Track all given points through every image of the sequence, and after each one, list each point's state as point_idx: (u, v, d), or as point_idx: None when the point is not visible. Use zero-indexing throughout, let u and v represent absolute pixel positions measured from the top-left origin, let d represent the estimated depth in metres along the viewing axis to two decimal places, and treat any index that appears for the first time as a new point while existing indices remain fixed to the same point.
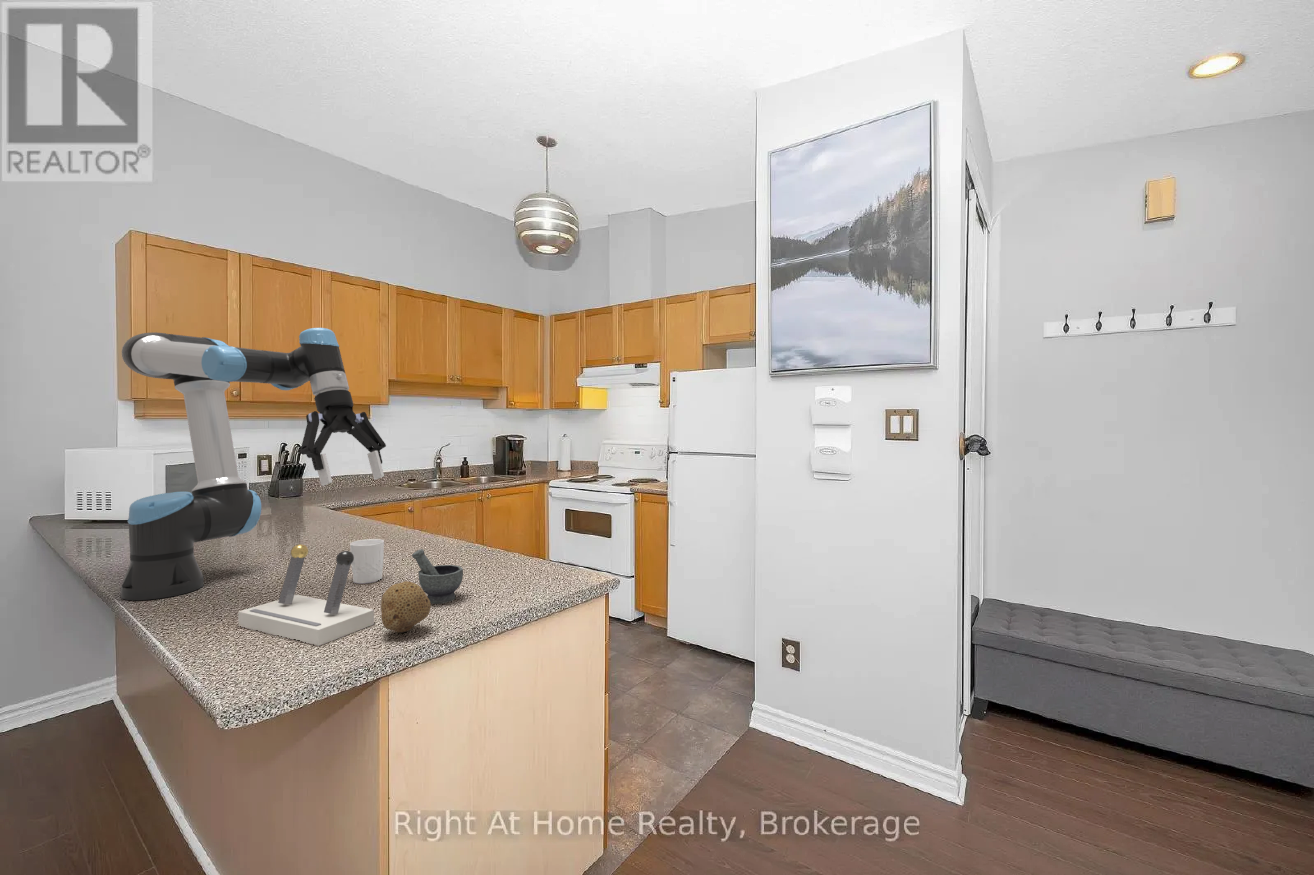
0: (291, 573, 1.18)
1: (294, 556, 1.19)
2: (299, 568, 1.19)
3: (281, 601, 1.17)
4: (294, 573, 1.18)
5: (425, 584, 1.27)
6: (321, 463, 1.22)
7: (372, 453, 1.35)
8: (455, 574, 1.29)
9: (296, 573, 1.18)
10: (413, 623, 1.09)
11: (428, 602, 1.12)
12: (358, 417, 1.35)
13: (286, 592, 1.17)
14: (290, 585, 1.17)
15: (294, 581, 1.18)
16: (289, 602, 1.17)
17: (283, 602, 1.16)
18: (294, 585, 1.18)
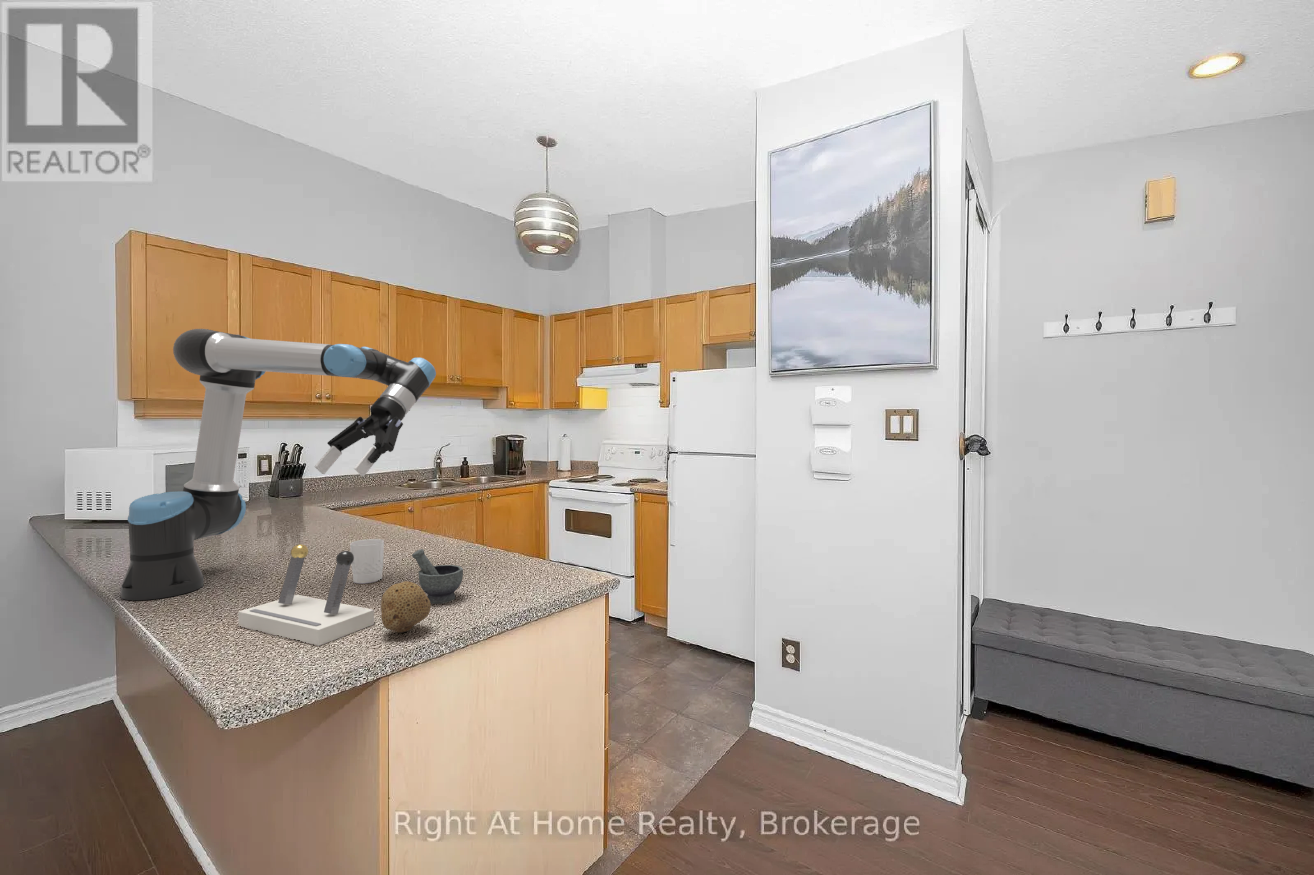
0: (291, 573, 1.18)
1: (294, 556, 1.19)
2: (299, 568, 1.19)
3: (281, 601, 1.17)
4: (294, 573, 1.18)
5: (425, 584, 1.27)
6: None
7: (337, 451, 1.35)
8: (455, 574, 1.29)
9: (296, 573, 1.18)
10: (413, 623, 1.09)
11: (428, 602, 1.12)
12: None
13: (286, 592, 1.17)
14: (290, 585, 1.17)
15: (294, 581, 1.18)
16: (289, 602, 1.17)
17: (283, 602, 1.16)
18: (294, 585, 1.18)
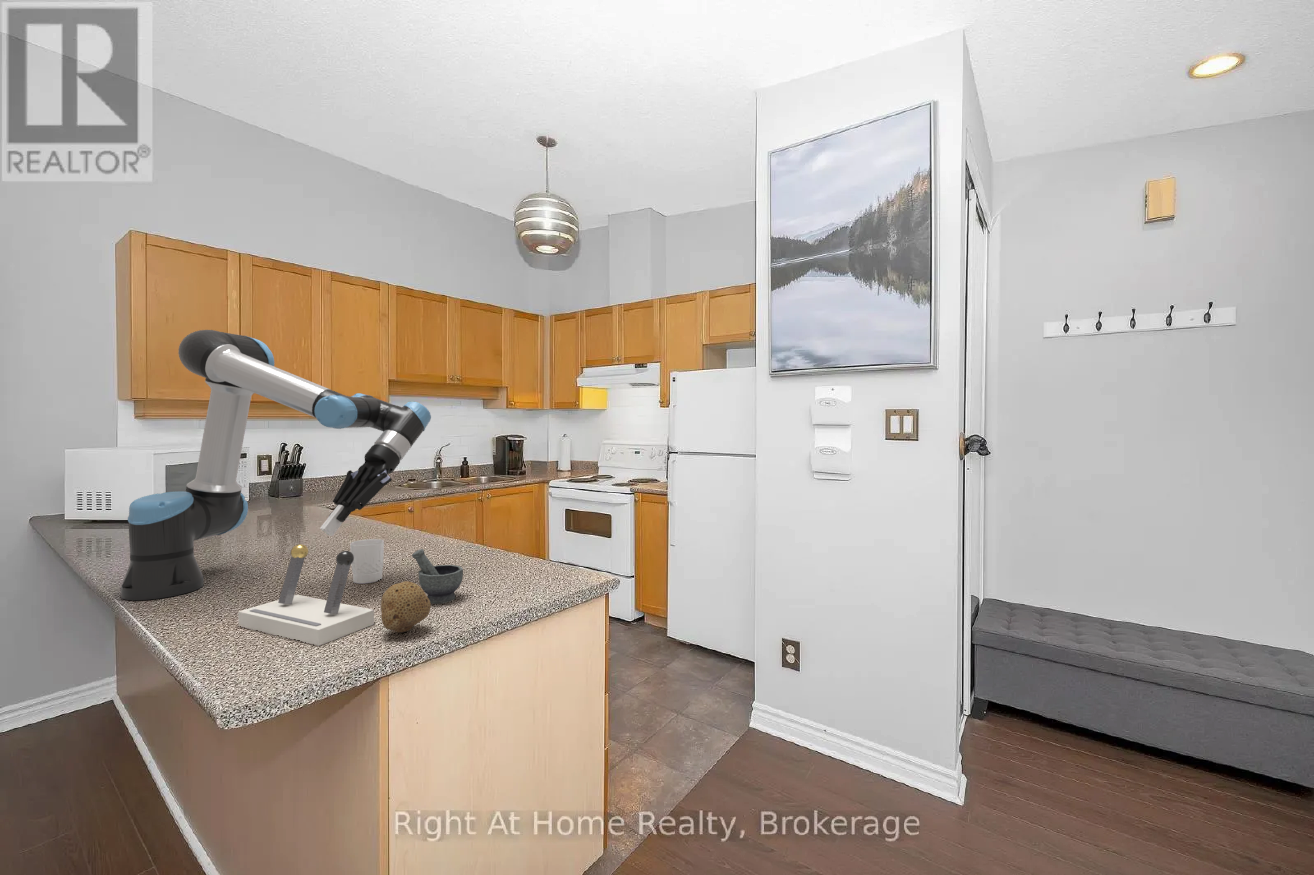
0: (291, 573, 1.18)
1: (294, 556, 1.19)
2: (299, 568, 1.19)
3: (281, 601, 1.17)
4: (294, 573, 1.18)
5: (425, 584, 1.27)
6: None
7: None
8: (455, 574, 1.29)
9: (296, 573, 1.18)
10: (413, 623, 1.09)
11: (428, 602, 1.12)
12: None
13: (286, 592, 1.17)
14: (290, 585, 1.17)
15: (294, 581, 1.18)
16: (289, 602, 1.17)
17: (283, 602, 1.16)
18: (294, 585, 1.18)
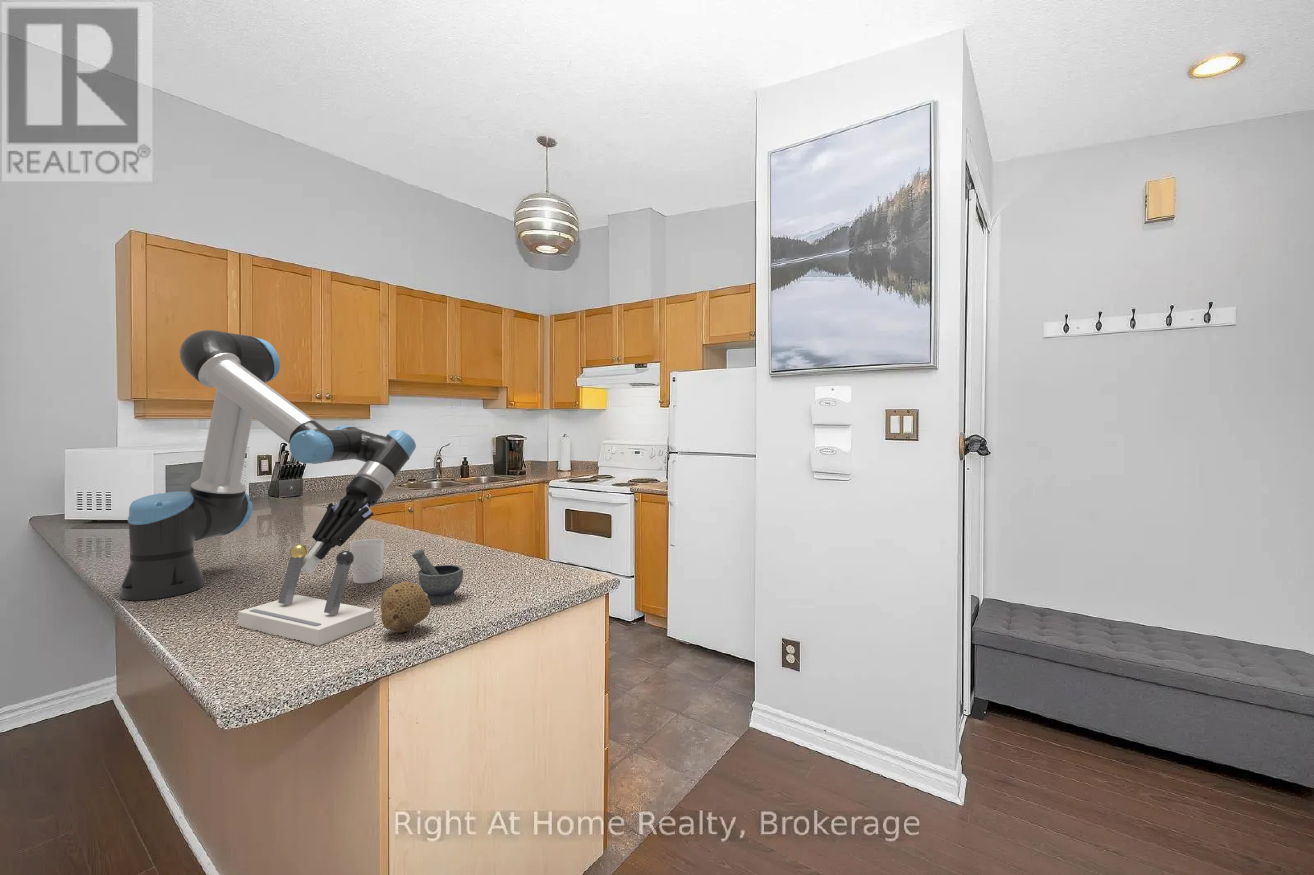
0: (291, 573, 1.18)
1: (293, 556, 1.18)
2: (298, 568, 1.19)
3: (281, 601, 1.17)
4: (294, 573, 1.18)
5: (425, 584, 1.27)
6: None
7: None
8: (455, 574, 1.29)
9: (295, 573, 1.18)
10: (413, 623, 1.09)
11: (428, 602, 1.12)
12: None
13: (286, 592, 1.17)
14: (290, 585, 1.17)
15: (294, 581, 1.18)
16: (289, 602, 1.17)
17: (283, 602, 1.16)
18: (294, 585, 1.18)
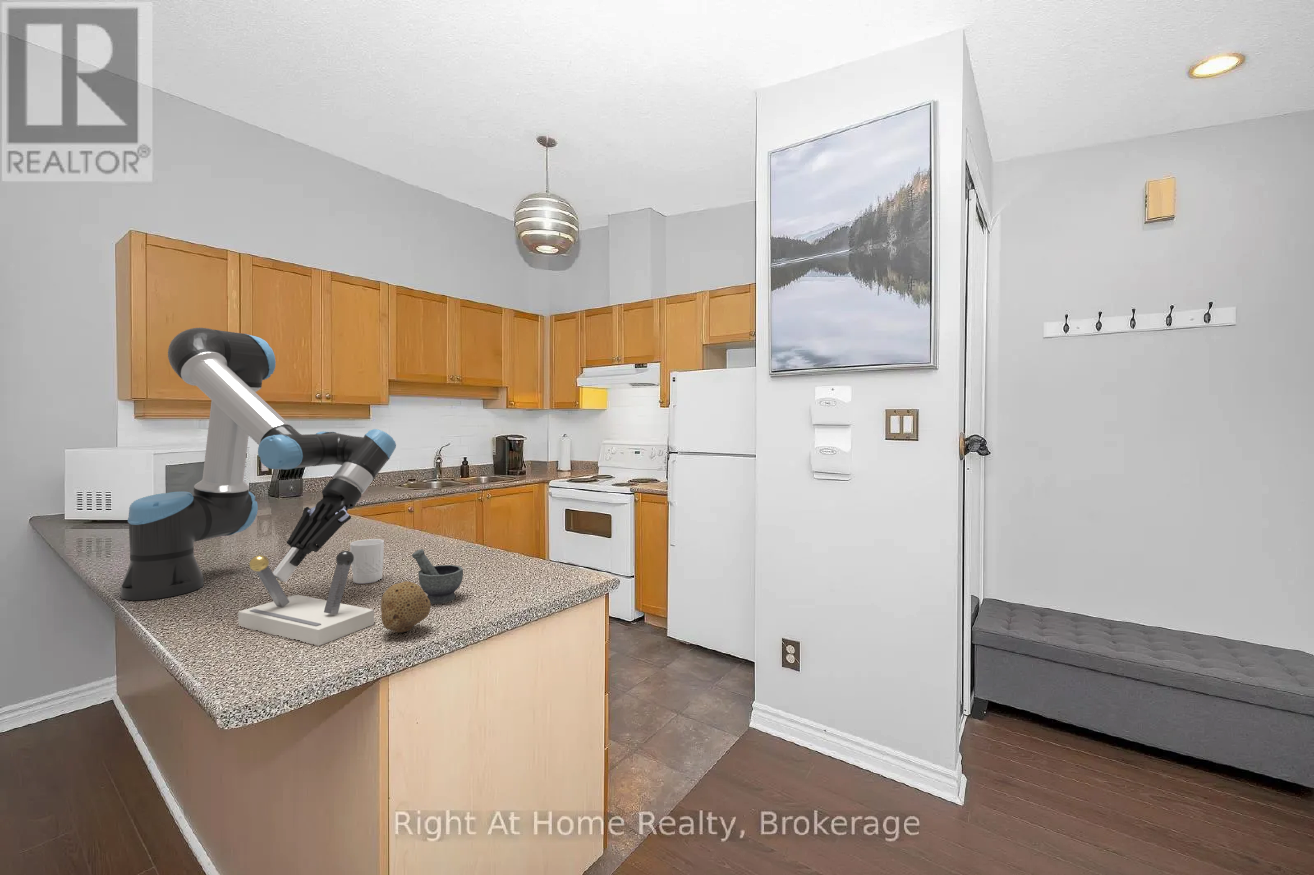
0: (267, 584, 1.13)
1: (257, 571, 1.12)
2: (271, 576, 1.14)
3: (278, 605, 1.16)
4: (271, 582, 1.14)
5: (425, 584, 1.27)
6: None
7: None
8: (455, 574, 1.29)
9: (272, 581, 1.14)
10: (413, 623, 1.09)
11: (428, 602, 1.12)
12: None
13: (276, 598, 1.15)
14: (275, 592, 1.14)
15: (276, 587, 1.15)
16: (286, 602, 1.17)
17: (280, 606, 1.16)
18: (279, 589, 1.15)
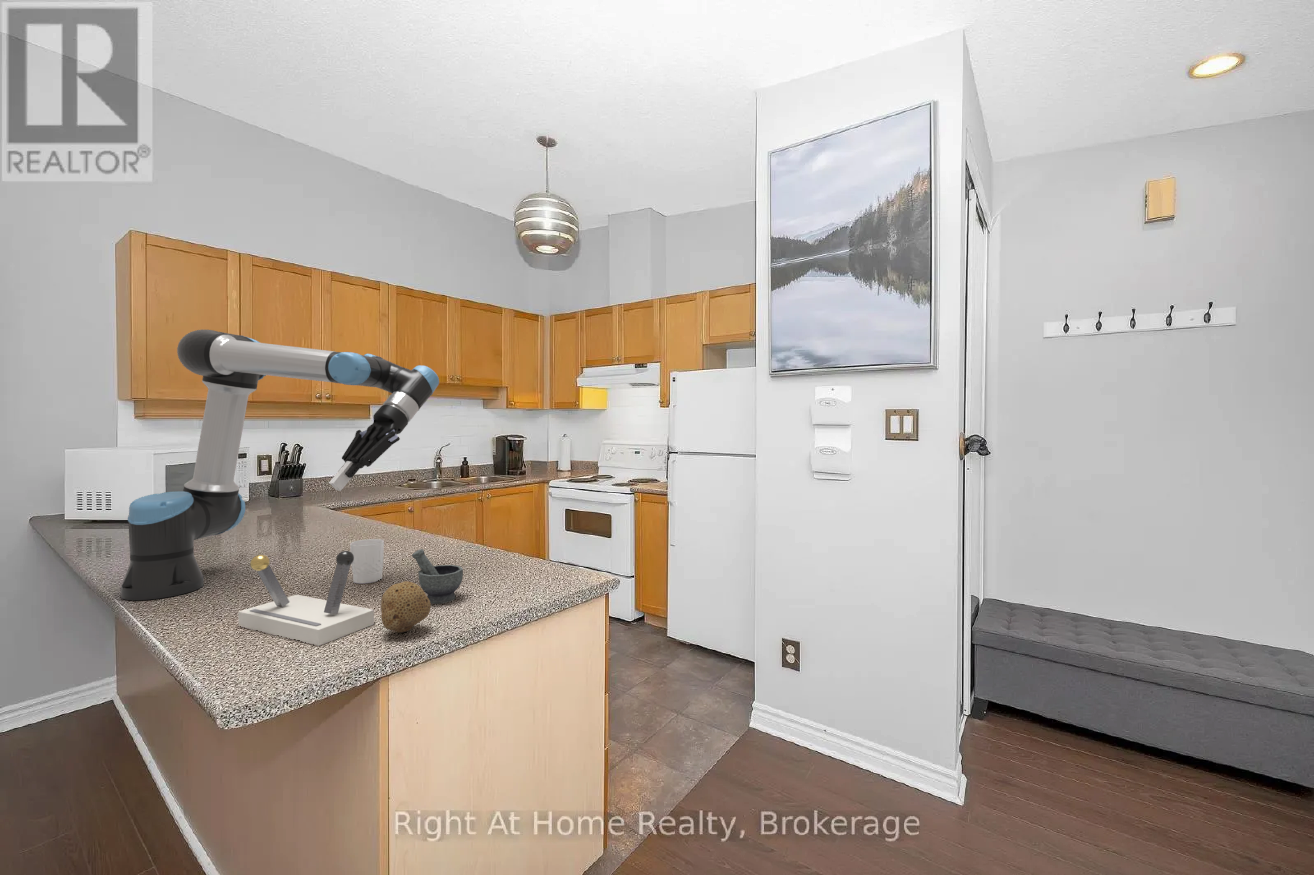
0: (268, 583, 1.14)
1: (258, 570, 1.12)
2: (272, 575, 1.14)
3: (278, 605, 1.16)
4: (271, 582, 1.14)
5: (425, 584, 1.27)
6: None
7: None
8: (455, 574, 1.29)
9: (272, 581, 1.14)
10: (413, 623, 1.09)
11: (428, 602, 1.12)
12: None
13: (276, 598, 1.15)
14: (275, 592, 1.15)
15: (276, 587, 1.15)
16: (286, 602, 1.17)
17: (281, 606, 1.16)
18: (280, 589, 1.15)
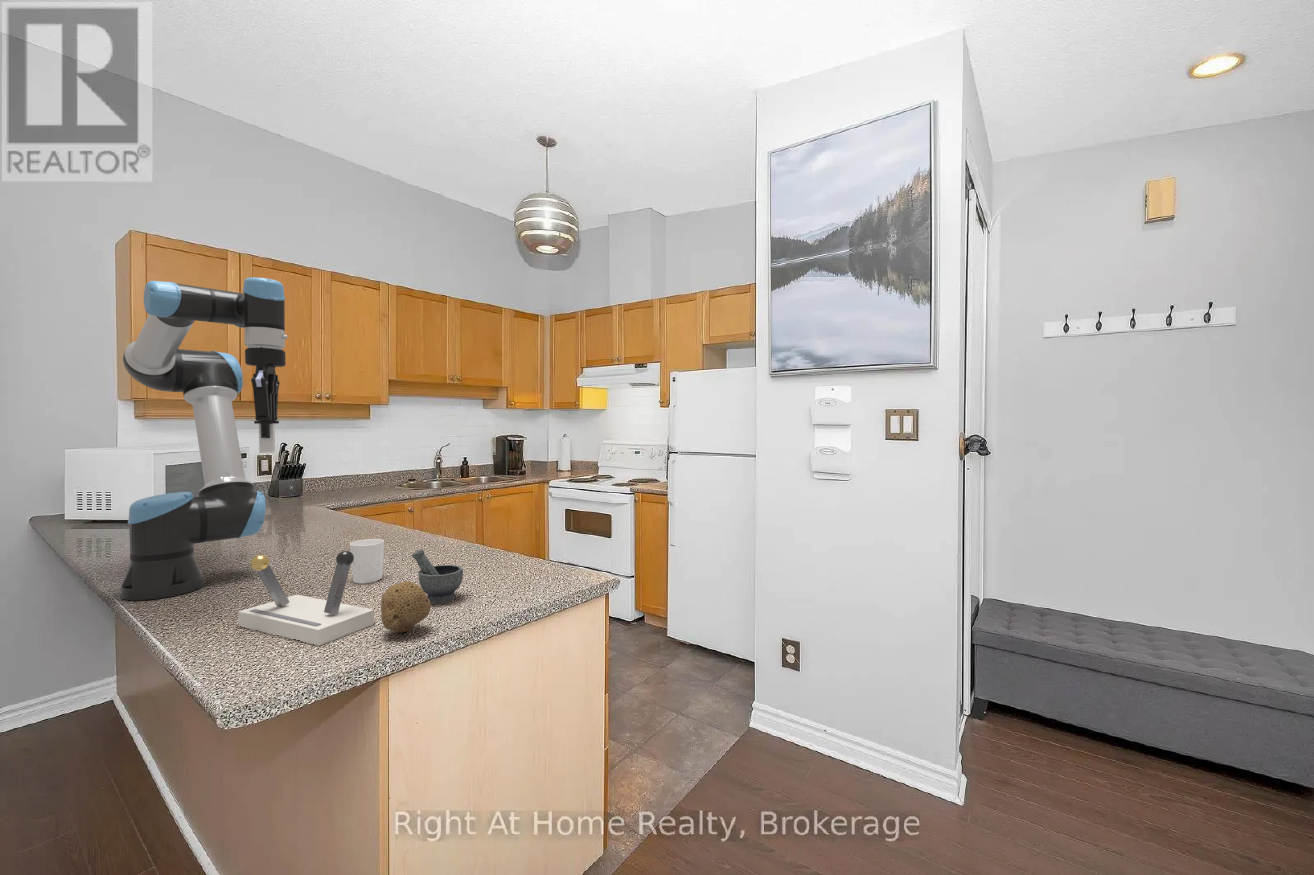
0: (268, 583, 1.14)
1: (258, 570, 1.12)
2: (272, 575, 1.14)
3: (278, 605, 1.16)
4: (271, 582, 1.14)
5: (425, 584, 1.27)
6: (269, 432, 1.27)
7: None
8: (455, 574, 1.29)
9: (272, 581, 1.14)
10: (413, 623, 1.09)
11: (428, 602, 1.12)
12: None
13: (276, 598, 1.15)
14: (275, 592, 1.15)
15: (276, 587, 1.15)
16: (286, 602, 1.17)
17: (281, 606, 1.16)
18: (280, 589, 1.15)
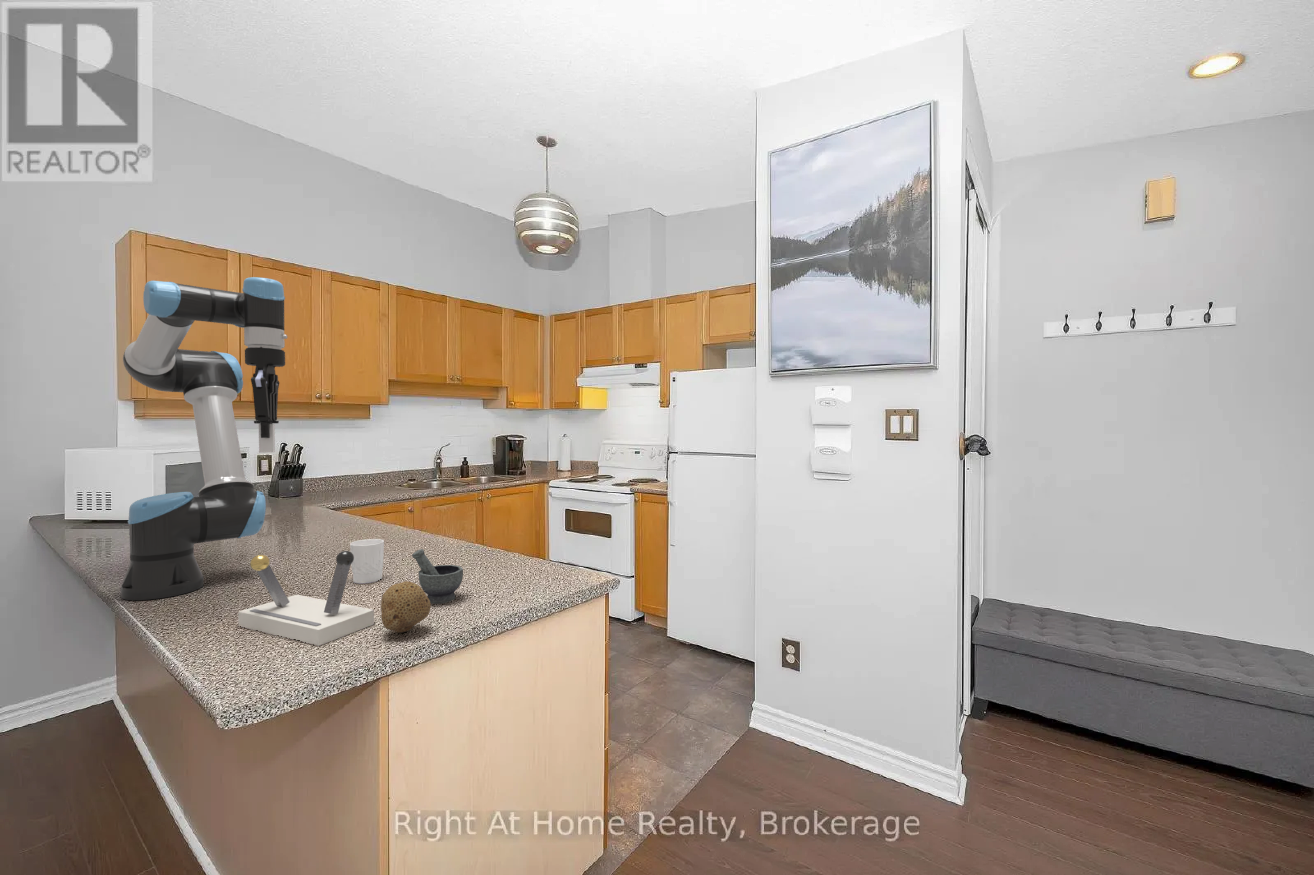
0: (268, 583, 1.14)
1: (258, 570, 1.12)
2: (272, 575, 1.14)
3: (278, 605, 1.16)
4: (271, 582, 1.14)
5: (425, 584, 1.27)
6: (269, 432, 1.27)
7: None
8: (455, 574, 1.29)
9: (272, 581, 1.14)
10: (413, 623, 1.09)
11: (428, 602, 1.12)
12: None
13: (276, 598, 1.15)
14: (275, 592, 1.15)
15: (276, 587, 1.15)
16: (286, 602, 1.17)
17: (281, 606, 1.16)
18: (280, 589, 1.15)
